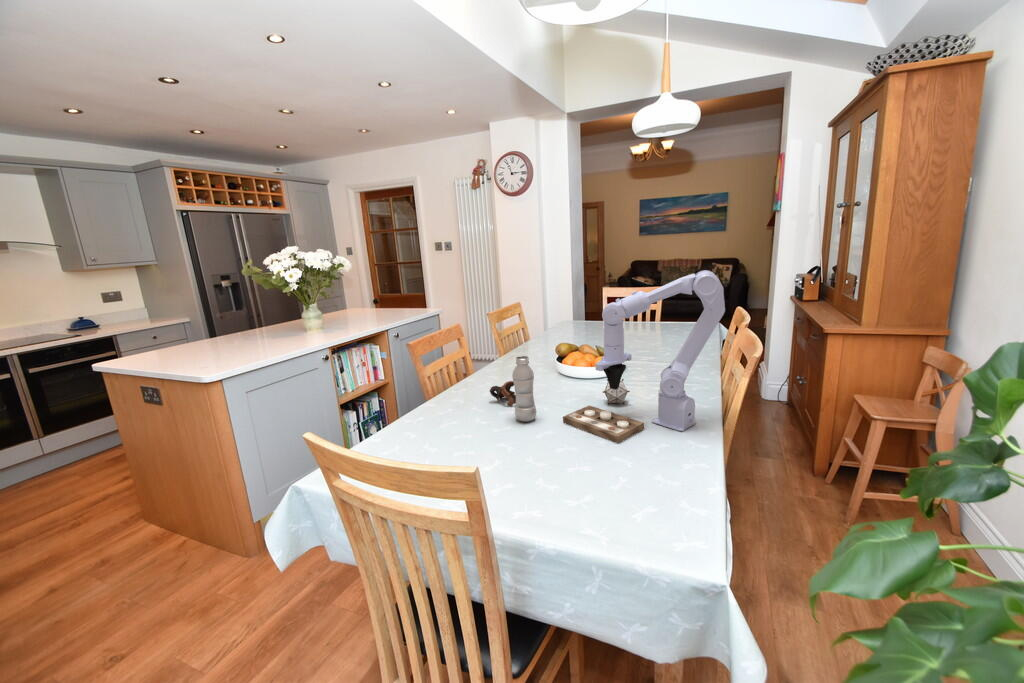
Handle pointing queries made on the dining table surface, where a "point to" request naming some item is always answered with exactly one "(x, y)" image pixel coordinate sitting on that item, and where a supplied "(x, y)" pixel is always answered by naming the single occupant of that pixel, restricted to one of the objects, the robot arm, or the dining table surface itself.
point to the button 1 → (589, 412)
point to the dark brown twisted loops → (504, 392)
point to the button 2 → (622, 424)
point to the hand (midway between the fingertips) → (614, 388)
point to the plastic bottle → (524, 390)
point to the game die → (616, 393)
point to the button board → (603, 424)
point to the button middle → (605, 416)
